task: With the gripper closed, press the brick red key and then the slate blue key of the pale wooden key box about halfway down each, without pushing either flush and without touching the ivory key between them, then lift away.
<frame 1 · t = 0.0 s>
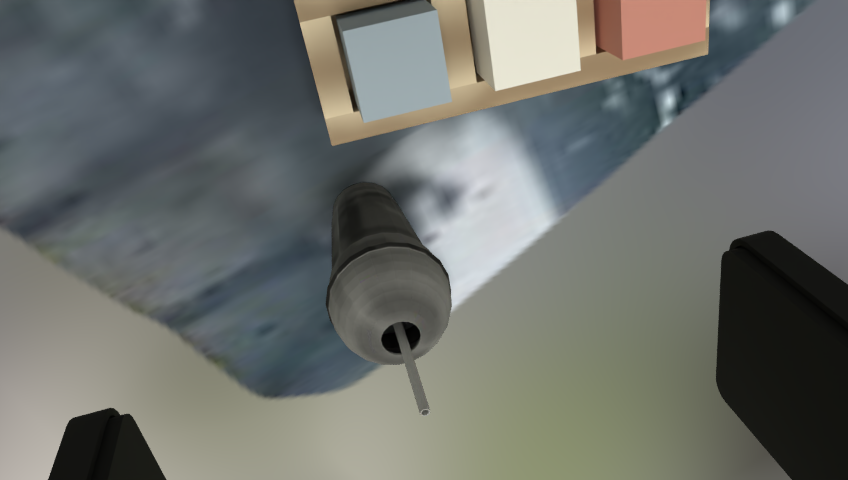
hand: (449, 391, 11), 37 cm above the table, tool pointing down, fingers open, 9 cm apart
key box: (489, 7, 45), on the table
blue key: (393, 58, 39), point 6 cm above the table, slide at 0.0 cm
white key: (522, 28, 39), point 6 cm above the table, slide at 0.0 cm
beverage cup: (364, 210, 50), on the table
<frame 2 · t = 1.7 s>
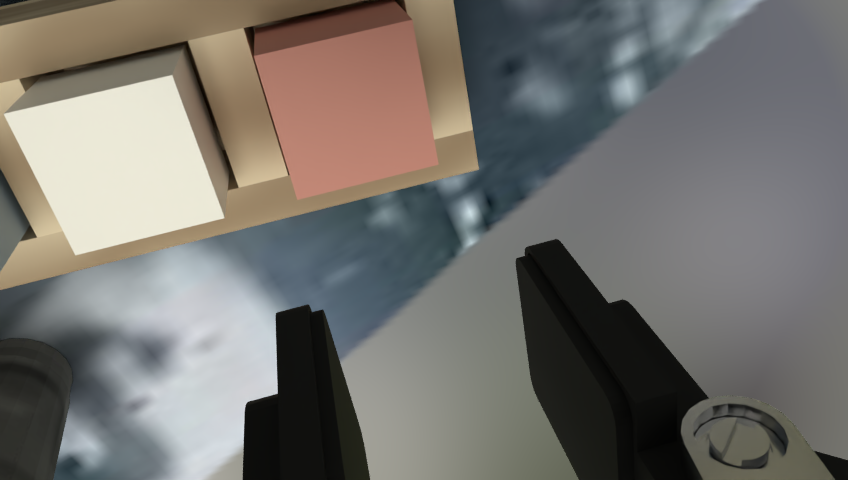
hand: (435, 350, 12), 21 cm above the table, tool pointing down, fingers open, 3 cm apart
key box: (156, 92, 29), on the table
white key: (131, 147, 24), point 7 cm above the table, slide at 0.0 cm
red key: (345, 95, 25), point 7 cm above the table, slide at 0.0 cm
beverage cup: (24, 373, 35), on the table
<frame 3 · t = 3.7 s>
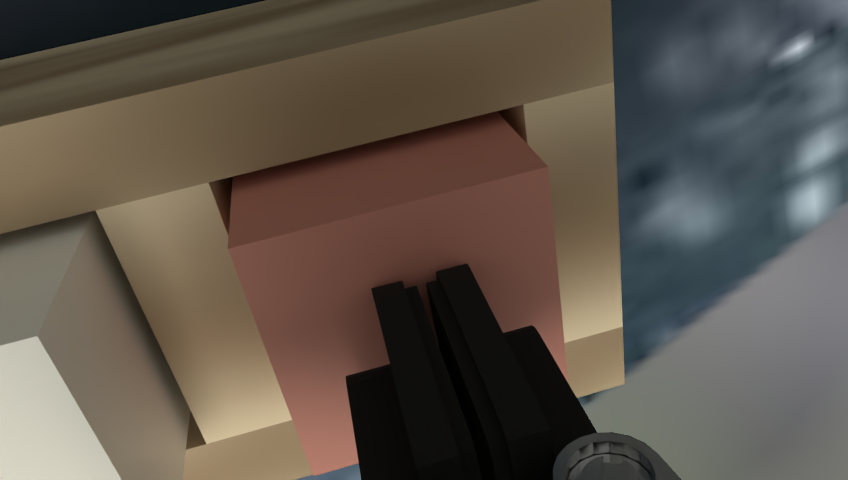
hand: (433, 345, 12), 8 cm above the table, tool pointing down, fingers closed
key box: (71, 238, 18), on the table
red key: (399, 273, 14), point 5 cm above the table, slide at 1.1 cm, touching gripper
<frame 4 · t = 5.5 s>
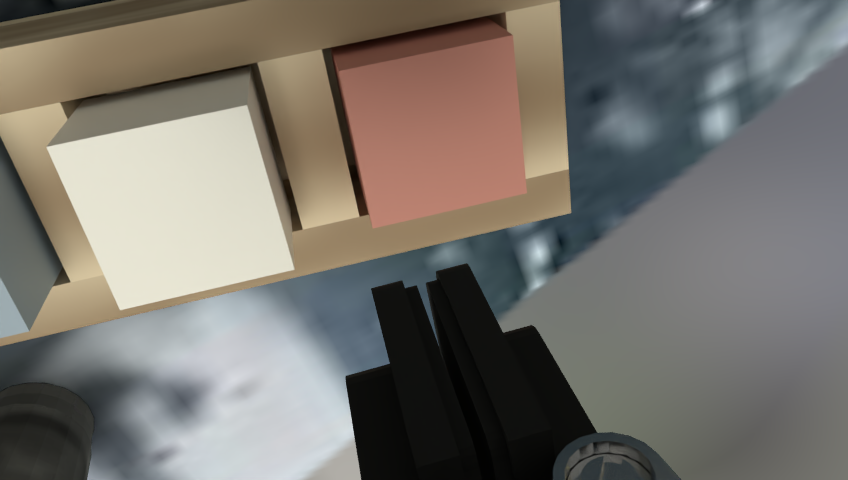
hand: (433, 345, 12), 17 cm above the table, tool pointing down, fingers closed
key box: (205, 115, 26), on the table
white key: (187, 183, 21), point 6 cm above the table, slide at 0.0 cm
red key: (426, 115, 22), point 5 cm above the table, slide at 1.4 cm
beverage cup: (40, 420, 31), on the table
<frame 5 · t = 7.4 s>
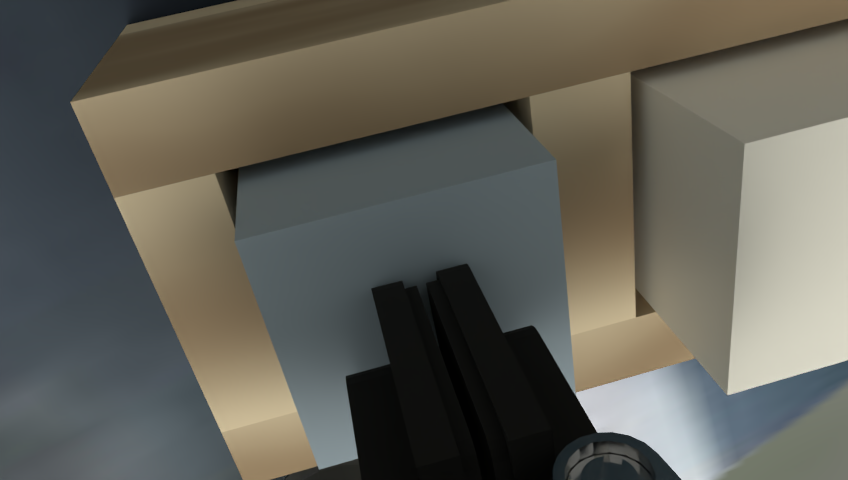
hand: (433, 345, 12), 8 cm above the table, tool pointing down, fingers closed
key box: (637, 92, 19), on the table
blue key: (405, 267, 14), point 6 cm above the table, slide at 1.0 cm, touching gripper
white key: (795, 194, 13), point 6 cm above the table, slide at 0.0 cm
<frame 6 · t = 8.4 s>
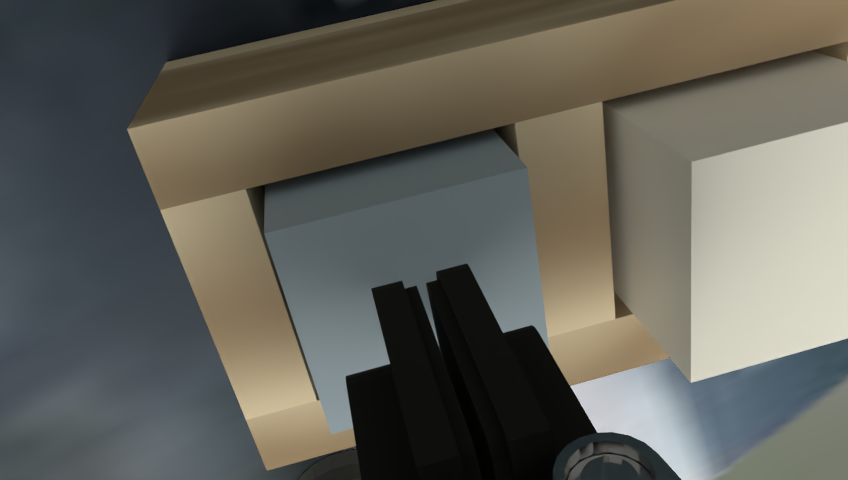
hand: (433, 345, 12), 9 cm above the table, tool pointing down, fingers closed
key box: (620, 118, 21), on the table
blue key: (405, 263, 16), point 5 cm above the table, slide at 1.4 cm
white key: (750, 207, 15), point 6 cm above the table, slide at 0.0 cm
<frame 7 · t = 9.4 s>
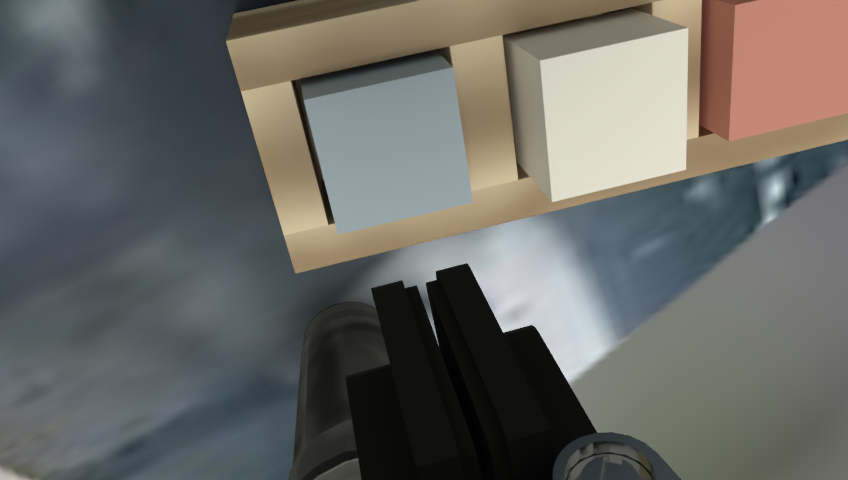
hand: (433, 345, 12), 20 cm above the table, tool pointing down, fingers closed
key box: (533, 61, 31), on the table
blue key: (384, 135, 26), point 5 cm above the table, slide at 1.4 cm
white key: (593, 102, 25), point 6 cm above the table, slide at 0.0 cm
red key: (761, 50, 27), point 5 cm above the table, slide at 1.4 cm
beverage cup: (348, 337, 36), on the table
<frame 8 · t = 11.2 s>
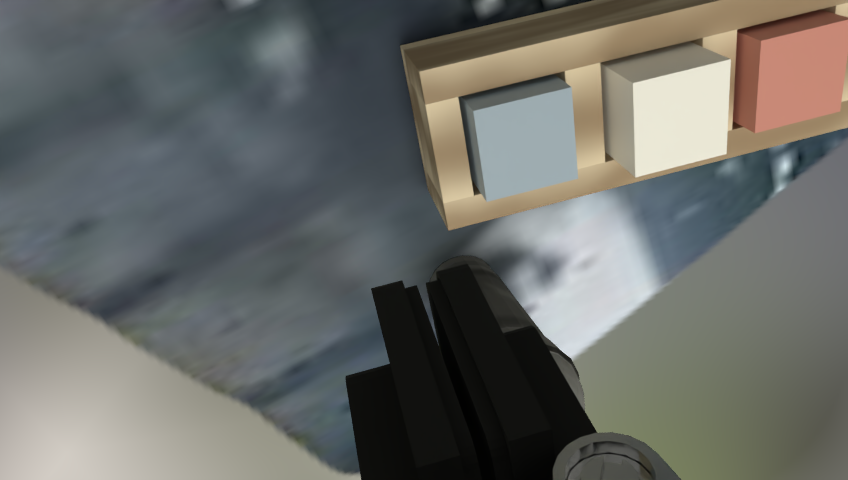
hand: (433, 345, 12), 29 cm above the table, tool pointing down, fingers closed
key box: (608, 74, 42), on the table
blue key: (515, 132, 37), point 5 cm above the table, slide at 1.4 cm
white key: (661, 107, 36), point 6 cm above the table, slide at 0.0 cm
red key: (777, 67, 38), point 5 cm above the table, slide at 1.4 cm
beverage cup: (460, 283, 47), on the table
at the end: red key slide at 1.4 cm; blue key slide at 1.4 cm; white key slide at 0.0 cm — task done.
